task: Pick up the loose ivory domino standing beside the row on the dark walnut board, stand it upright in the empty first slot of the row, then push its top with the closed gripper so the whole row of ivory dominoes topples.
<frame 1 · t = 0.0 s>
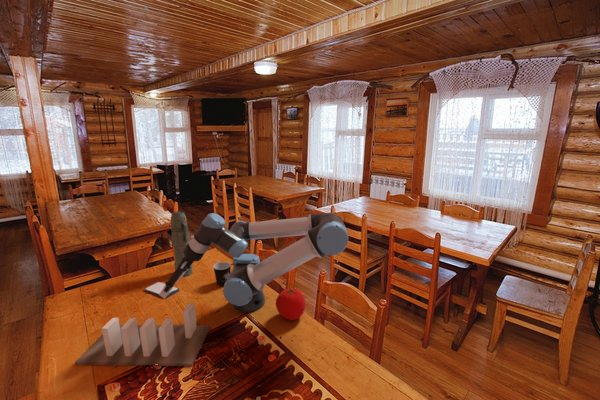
hand: (169, 287, 122), 15 cm above the table, fingers open, 13 cm apart
phone case: (162, 291, 149), on the table
walnut board: (148, 344, 112), on the table
domino 2: (168, 350, 107), point 1 cm above the table, touching walnut board
coffee mug: (226, 283, 156), on the table
thermos: (184, 273, 166), on the table
domino 5: (114, 349, 108), point 1 cm above the table, touching walnut board
domino 4: (132, 350, 108), point 1 cm above the table, touching walnut board
loose domino: (191, 332, 117), point 1 cm above the table, touching walnut board
tomato: (290, 317, 128), on the table
domino 3: (150, 350, 108), point 1 cm above the table, touching walnut board
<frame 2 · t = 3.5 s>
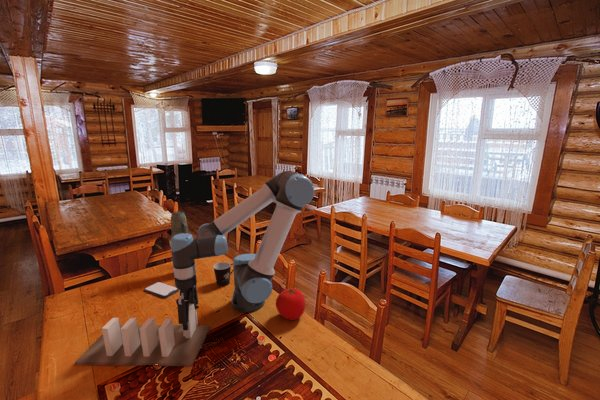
hand: (190, 329, 116), 2 cm above the table, fingers closed on loose domino, 6 cm apart
loose domino: (191, 332, 117), point 1 cm above the table, touching gripper, walnut board
everything else where it was.
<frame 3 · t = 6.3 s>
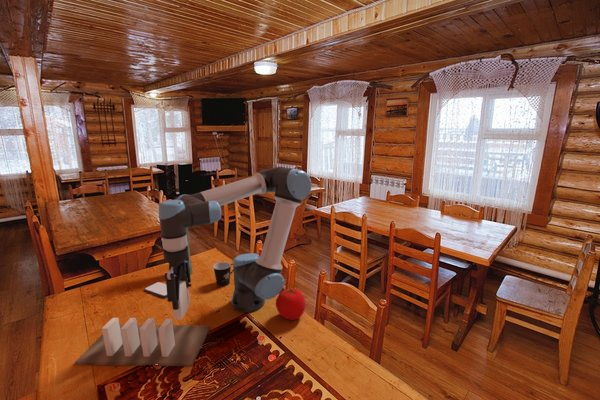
hand: (182, 310, 103), 17 cm above the table, fingers closed on loose domino, 6 cm apart
loose domino: (182, 313, 104), point 16 cm above the table, touching gripper
everything else where it was.
when the fingers open (3 cm above the table, at t = 9.4 s): loose domino stays where it is, resting on walnut board.
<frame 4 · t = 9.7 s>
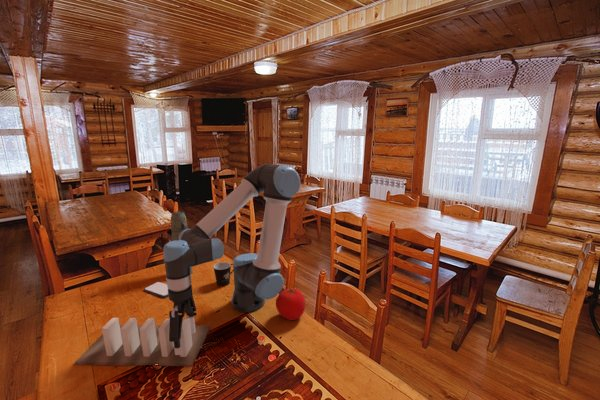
hand: (185, 342, 106), 4 cm above the table, fingers open, 10 cm apart
loose domino: (186, 350, 107), point 1 cm above the table, touching walnut board
everything else where it was.
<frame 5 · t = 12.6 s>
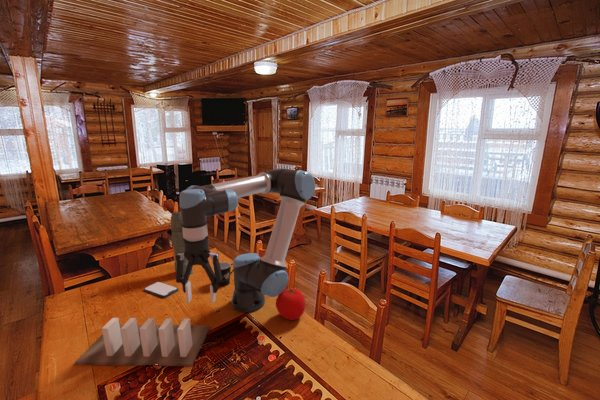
hand: (201, 300, 102), 21 cm above the table, fingers open, 8 cm apart
nothing on the table moved.
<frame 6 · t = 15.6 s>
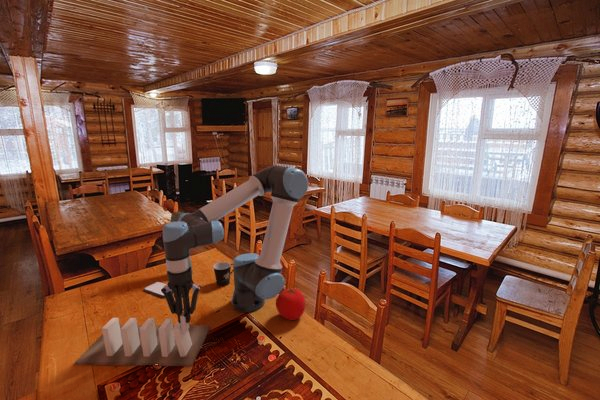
hand: (185, 330, 105), 10 cm above the table, fingers closed
loose domino: (186, 350, 107), point 1 cm above the table, tilted 9°, touching walnut board
everything else where it was.
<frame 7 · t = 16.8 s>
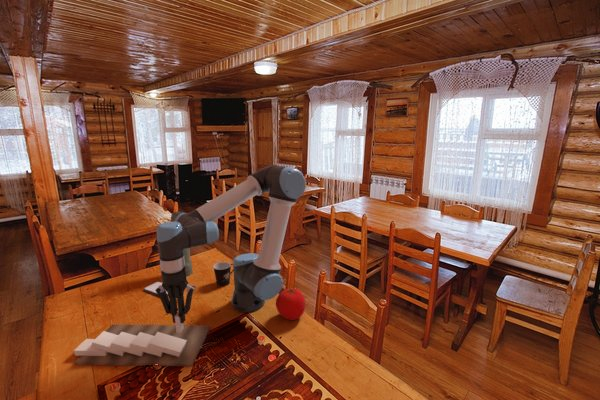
hand: (180, 330, 105), 9 cm above the table, fingers closed
domino 2: (165, 348, 107), point 2 cm above the table, tilted 73°, touching domino 3, loose domino, walnut board
domino 5: (110, 347, 108), point 2 cm above the table, tilted 90°, touching domino 4, walnut board
domino 4: (127, 347, 108), point 2 cm above the table, tilted 71°, touching domino 3, domino 5, walnut board
loose domino: (183, 348, 107), point 2 cm above the table, tilted 72°, touching domino 2, walnut board
domino 3: (146, 347, 107), point 2 cm above the table, tilted 72°, touching domino 2, domino 4, walnut board
everything else where it was.
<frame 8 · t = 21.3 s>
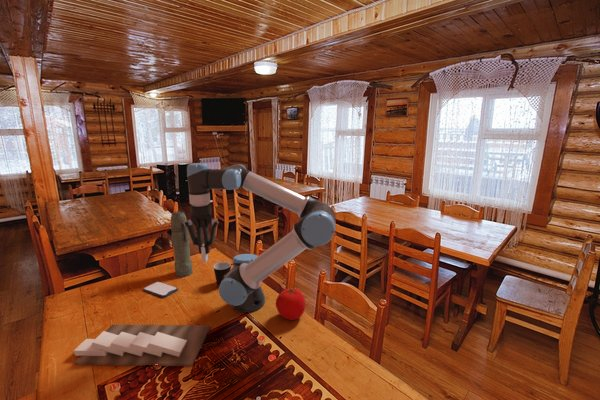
hand: (205, 260, 121), 26 cm above the table, fingers closed
nothing on the table moved.
at the end: domino 5 tilted 90°; domino 3 tilted 72°; loose domino inside the target area (0.3 cm from its centre), point 1.9 cm above the table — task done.
